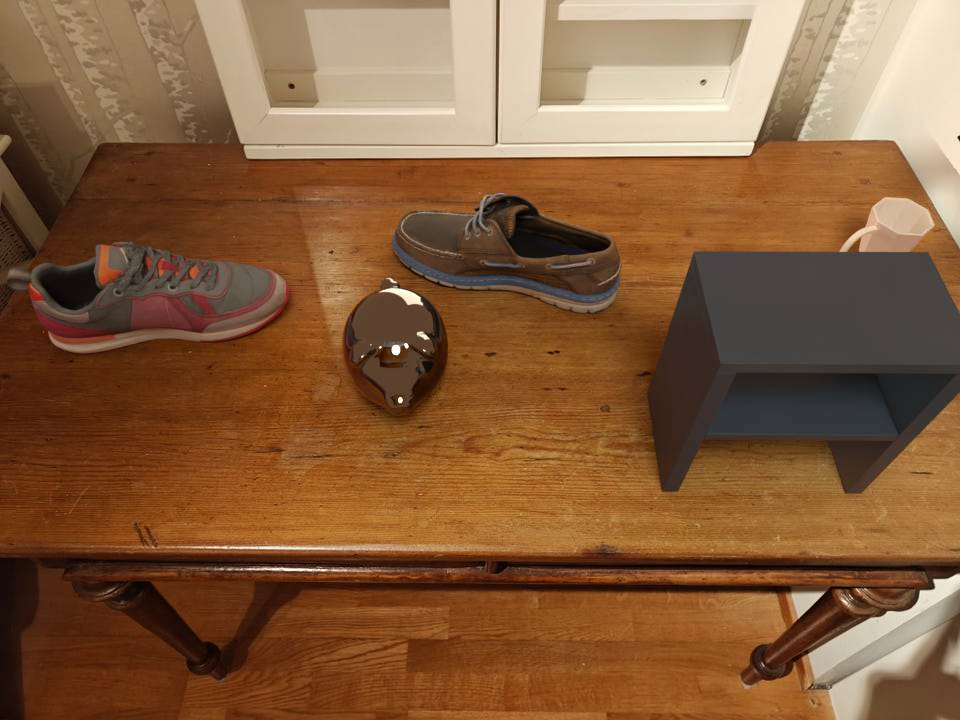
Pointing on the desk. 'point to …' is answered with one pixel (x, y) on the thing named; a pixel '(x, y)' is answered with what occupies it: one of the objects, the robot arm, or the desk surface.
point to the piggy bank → (395, 347)
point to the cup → (893, 227)
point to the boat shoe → (512, 253)
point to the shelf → (805, 356)
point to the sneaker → (148, 298)
